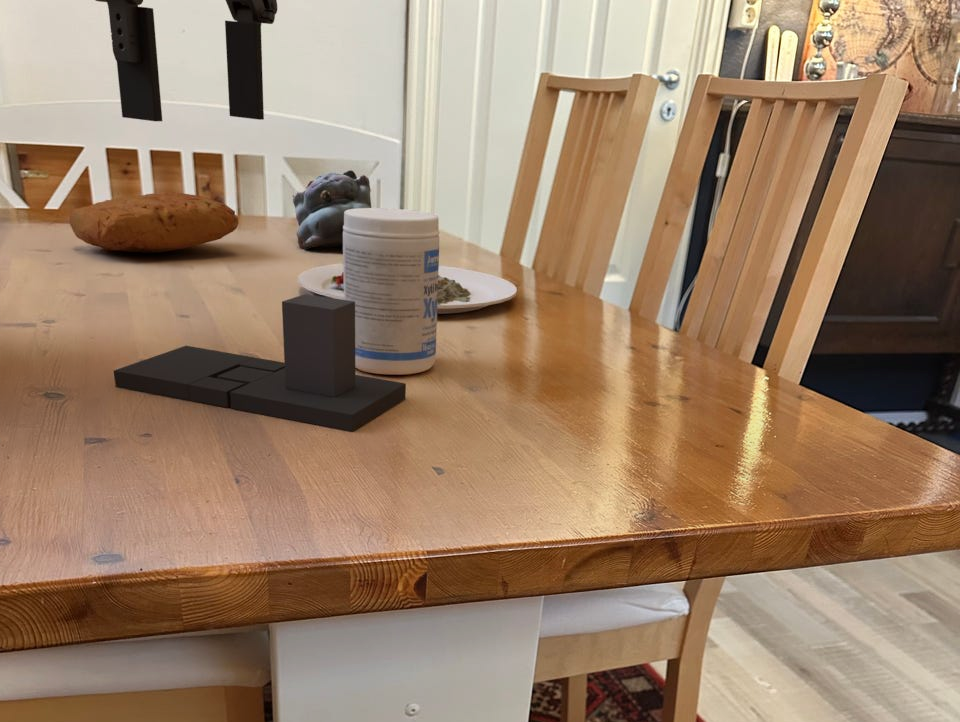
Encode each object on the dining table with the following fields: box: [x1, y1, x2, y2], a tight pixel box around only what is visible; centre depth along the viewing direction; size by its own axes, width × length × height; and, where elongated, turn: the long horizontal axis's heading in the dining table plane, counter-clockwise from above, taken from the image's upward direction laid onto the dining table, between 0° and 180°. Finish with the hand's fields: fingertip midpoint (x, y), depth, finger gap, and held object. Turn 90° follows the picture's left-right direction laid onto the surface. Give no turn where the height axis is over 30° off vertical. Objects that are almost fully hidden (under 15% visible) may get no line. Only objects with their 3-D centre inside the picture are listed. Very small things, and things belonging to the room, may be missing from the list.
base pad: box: [113, 345, 285, 409], centre depth 88 cm, size 12×11×2 cm
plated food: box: [297, 262, 518, 315], centre depth 128 cm, size 30×30×3 cm
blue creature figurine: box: [292, 169, 373, 251], centre depth 157 cm, size 15×12×14 cm
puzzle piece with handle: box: [217, 293, 407, 432], centre depth 83 cm, size 16×11×9 cm
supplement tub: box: [342, 207, 440, 376], centre depth 94 cm, size 10×10×15 cm
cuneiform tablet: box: [69, 192, 239, 254], centre depth 143 cm, size 22×17×8 cm
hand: (198, 119), depth 70 cm, fingers open, 13 cm apart
